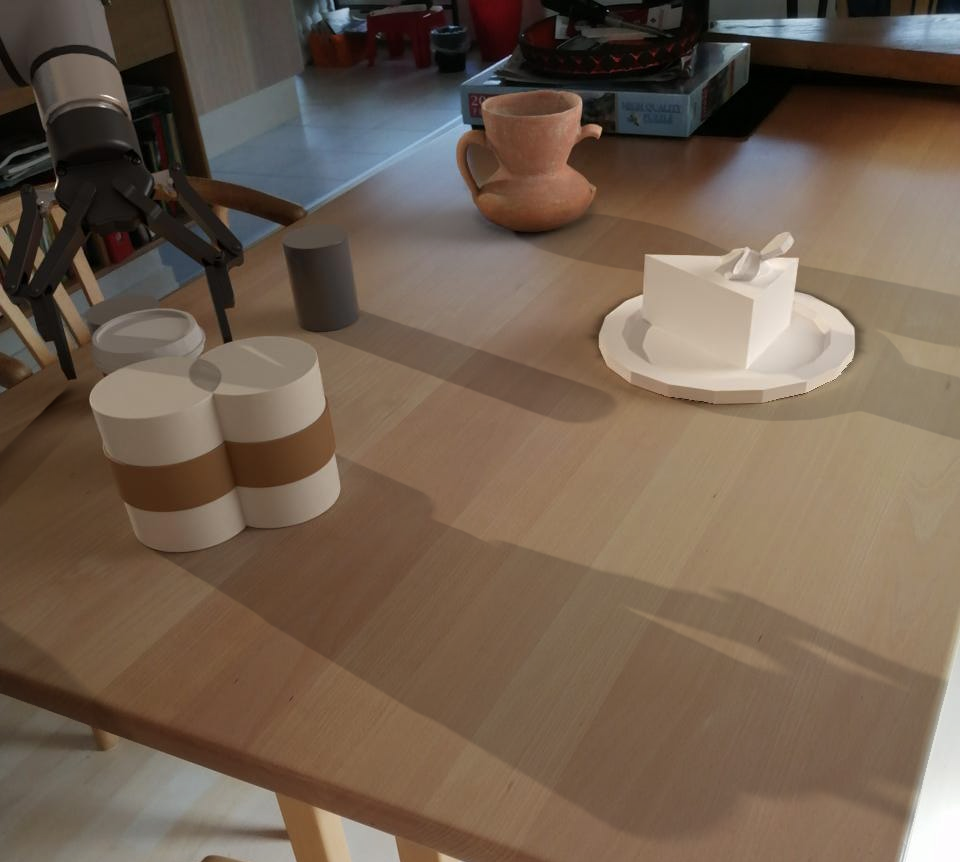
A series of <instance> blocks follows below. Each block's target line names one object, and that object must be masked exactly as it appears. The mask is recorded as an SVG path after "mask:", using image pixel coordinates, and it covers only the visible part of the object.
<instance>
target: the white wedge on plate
mask: <svg viewBox="0 0 960 862" xmlns="http://www.w3.org/2000/svg"><path fill="white" fill-rule="evenodd" d="M794 242H795V240H794V237H793V236H792V235H791V233H790V231H784V232H782V233H779V234H777V235H776V236H775V237H773V239H771V241H770V242H768V244H767V245H765V247H764V248H762V249H761V250H760V252H758V251H757V250H754V249H752V248H749V247H748V246H746V247H741V248H734V249H732V250H731V251H730V252H729V253H726V254H723V255H691V254H690V255H685V254H683V255H681V254H644V265H643V266H644V268H643V285H642V286H643V288H642V290H643V291H642V294H640V295H638V296H634V297H632V298H630V299H627V300H625V301H623V302H622V303H620V304H619V306H617V307H616V308H615V309H613V310H612V311H611V312H609V313H608V314H607V315H605V318H604V320H603V323H602V326H601V328H600V331H599V334H598V348H599V350H600V353H601V356H602V358H603V361H604V362H605V364H606V366H607V368H609V369H610V370H612V372H614V373H616V374H617V375H618V376H619V377H621V378H623V379H624V380H625V382H627V383H629V384H630V385H634V386H636V387H638V388H642V389H644V390H647V391H650V392H652V393H655V394H658V395H661V394H662V395H661V396H663V395H664V396H663V397H666V396H667V397H666V398H671V397H675V398H674V399H678V398H684V399H689V400H688V401H691V400H695V401H694V402H698V401H704V402H708V403H707V404H711V403H713V404H712V405H724V404H725V405H726V404H727V405H728V404H729V405H731V404H763V403H769V402H773V401H772V400H774V401H777V400H776V399H779V398H784V397H789V396H793V397H795V396H794V395H798V394H803V393H806V392H808V393H810V392H809V391H811V390H813V389H815V388H817V387H819V386H821V385H823V384H825V383H827V382H829V383H831V382H833V381H832V380H834V379H836V378H837V377H838V376H839V375H840V376H841V374H842V373H843V372H844V371H845V370H846V369H847V368H848V366H849V365H850V364H851V363H852V362H853V360H854V354H855V349H856V341H855V340H856V339H855V338H856V337H855V336H856V334H855V326H853V324H852V323H851V322H850V321H849V320H848V319H847V318H846V317H845V316H844V315H843V313H842V312H841V311H840V309H838V308H836V307H834V306H832V305H830V304H828V303H826V302H824V301H822V300H821V299H818V298H817V297H814V296H813V295H811V294H807V293H804V292H800V291H796V290H795V289H796V284H797V283H796V282H797V274H798V269H799V268H798V267H799V261H800V258H799V257H780V256H782V255H785V254H786V253H787V252H788V251H789V250H790V249H791V247H792V246H793V245H794ZM852 359H853V360H852ZM850 362H851V363H850ZM849 363H850V364H849ZM848 364H849V365H848ZM847 365H848V366H847ZM845 368H846V369H845ZM844 369H845V370H844ZM843 370H844V371H843ZM842 371H843V372H842ZM841 372H842V373H841ZM840 376H839V377H840ZM839 377H838V378H839ZM838 378H837V379H838ZM837 379H836V380H837ZM830 381H831V382H830ZM834 381H835V380H834ZM827 384H828V383H827ZM825 385H826V384H825ZM823 386H824V385H823ZM821 387H822V386H821ZM819 388H820V387H819ZM817 389H818V388H817ZM815 390H816V389H815ZM813 391H814V390H813ZM811 392H812V391H811ZM806 394H807V393H806ZM803 395H804V394H803ZM798 396H799V395H798ZM789 398H790V397H789ZM684 399H683V400H684ZM784 399H785V398H784ZM696 400H697V401H696ZM779 400H780V399H779ZM768 401H769V402H768ZM704 402H703V403H704Z"/></svg>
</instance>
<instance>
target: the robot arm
mask: <svg viewBox="0 0 960 862" xmlns="http://www.w3.org/2000/svg"><path fill="white" fill-rule="evenodd" d="M115 55H116V54H115V50H114V46H113V41H112V38H111V33H110V30H109V26H108V23H107V18H106V11H105V6H104V5H103V4H102V1H101V0H0V94H3V93H7V92H10V91H14V90H17V89H20V88H27V87H30V86H31V87H32V90H33V95H34V98H35V102H36V106H37V110H38V113H39V117H40V120H41V125H42V128H43V130H44V131H45V139H46V144H47V147H48V151H49V154H50V159H51V163H52V167H53V170H54V175H55V178H56V181H55V186H54V188H46V189H45V188H44V189H43V188H41V189H36V188H35V187H34V185H32V184H31V183H24V184H23V185H21V186H20V188H19V194H20V201H21V209H22V211H21V214H20V218H19V222H18V226H17V229H16V231H15V232H16V233H15V236H14V241H13V244H12V247H11V252H10V256H9V259H8V263H7V266H6V270H5V274H4V278H3V281H2V285H1V286H2V290H3V292H4V294H5V295H6V297H7V298H8V300H9V301H10V303H11V304H12V305H13V306H22V305H25V306H26V305H27V306H28V307H30V308H31V311H32V314H33V319H34V323H35V327H36V330H37V333H38V334H39V336H40V338H41V339H42V340H43V342H44V343H50V342H54V346H55V349H56V354H57V356H58V362H59V365H60V366H59V367H60V369H61V371H62V373H63V374H64V376H65V378H66V379H67V381H71V380H77V379H78V377H77V374H76V370H75V365H74V361H73V358H72V354H71V351H70V346H69V342H68V338H67V335H66V332H65V328H64V323H63V319H62V316H61V315H62V314H61V311H60V308H59V306H58V304H57V302H56V300H55V298H54V294H55V292H57V291H56V290H57V289H58V288H59V285H60V284H61V282H62V281H63V278H64V277H65V275H66V273H67V272H68V270H69V268H70V266H71V265H72V263H73V261H74V260H75V258H76V255H78V252H79V251H80V249H81V247H84V246H85V244H86V243H87V241H88V239H89V238H90V236H91V234H95V235H98V236H99V237H100V238H101V237H107V236H110V235H112V234H114V233H116V232H117V233H118V232H119V233H129V232H135V231H136V228H138V227H140V226H141V225H142V226H143V227H144V228H146V229H147V230H148V231H150V232H151V233H153V234H155V235H159V236H160V237H161V238H163V239H164V240H166V241H167V242H168V243H170V244H171V245H173V246H174V247H175V248H177V249H178V250H179V251H180V252H181V253H183V254H185V255H186V256H187V257H189V258H191V259H192V260H193V261H195V262H196V263H197V264H199V265H200V266H202V268H204V273H205V280H206V283H207V287H208V291H209V294H210V299H211V302H212V306H213V310H214V315H215V317H216V321H217V324H218V328H219V329H218V330H219V332H220V336H221V339H222V343H223V344H226V343H229V342H232V341H234V340H233V335H232V331H231V328H230V324H229V321H228V320H229V319H228V317H227V313H226V310H229V309H233V308H235V305H236V298H235V293H234V289H233V285H232V282H231V277H230V274H229V272H230V271H231V270H232V269H233V268H235V267H241V266H243V264H245V263H244V262H245V254H244V245H243V244H242V242H241V241H240V240H239V239H238V238H237V237H236V235H235V234H234V233H233V232H232V231H231V230H230V229H229V227H228V226H227V225H226V224H225V223H224V222H223V221H222V220H221V218H220V217H219V216H218V214H216V213H215V212H214V210H213V209H212V208H211V207H210V205H208V204H207V202H206V201H205V200H204V199H203V198H202V197H201V196H200V194H199V193H198V192H197V191H196V190H195V189H194V188H193V186H192V185H191V184H190V183H189V181H188V178H187V175H186V173H185V170H184V168H183V166H182V164H181V163H180V161H179V162H178V161H176V160H173V161H170V162H169V163H168V165H167V169H164V170H161V171H157V172H152V173H151V172H150V170H148V168H147V167H146V165H145V162H144V158H143V154H142V151H141V148H140V147H141V146H140V144H139V139H138V135H137V132H136V127H135V125H134V124H133V121H132V120H133V119H132V114H131V109H130V106H129V103H128V98H127V94H126V91H125V87H124V83H123V78H122V75H121V74H120V69H119V65H118V62H117V59H116V56H115ZM157 190H162V191H163V192H165V194H166V195H167V196H168V197H170V198H172V199H174V198H176V199H177V202H178V203H179V205H180V206H181V207H182V209H183V210H184V211H185V212H186V213H187V215H188V216H189V217H190V218H191V219H192V220H193V222H195V223H196V225H197V226H198V227H199V228H200V229H201V230H202V231H203V232H204V234H205V235H206V236H207V237H208V238H209V240H210V241H211V242H212V243H213V244H214V245H215V246H213V245H212V244H210V243H209V242H208V241H206V240H205V239H203V238H202V237H201V236H199V235H198V234H196V232H194V231H192V230H191V229H190V228H188V227H187V226H185V225H184V224H183V223H182V222H180V221H179V220H177V219H176V218H175V217H173V216H172V215H170V214H169V213H167V212H166V211H165V210H164V209H162V208H161V206H160V205H159V204H158V203H157V202H156V201H155V200H154V198H155V196H156V193H157ZM56 206H58V207H59V208H60V209H61V210H63V212H65V213H66V214H65V216H63V219H62V223H61V227H60V229H59V230H58V232H57V234H56V236H55V238H54V239H53V241H52V243H51V245H50V247H49V248H48V250H47V252H46V253H45V255H44V257H43V259H42V260H41V262H40V264H39V266H38V267H37V269H36V271H35V273H34V274H33V269H34V265H35V262H36V258H37V254H38V251H39V247H40V243H41V239H42V235H43V231H44V219H48V218H49V217H50V215H51V213H52V209H53V208H54V207H56ZM32 274H33V276H32ZM31 277H32V278H31ZM223 344H222V345H223Z"/></svg>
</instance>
